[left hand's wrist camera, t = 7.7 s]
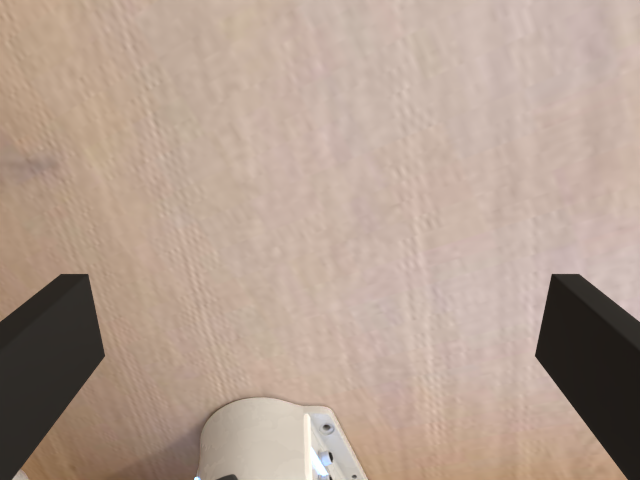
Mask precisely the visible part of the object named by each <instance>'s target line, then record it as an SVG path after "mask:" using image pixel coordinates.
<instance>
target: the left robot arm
mask: <svg viewBox="0 0 640 480" xmlns="http://www.w3.org/2000/svg"><path fill="white" fill-rule="evenodd" d="M104 357H105V354H104V349H103V344H102V339H101V334H100V329H99V324H98V320H97V315H96V310H95V305H94V300H93V295H92V291H91V286H90V281H89V276H88V274H61V275H59V276H58V277H57V278H56V279H54V280H53V281H52V282H50V283H49V284H48V285H47V286H45V287H44V288H43V289H42V290H40V291H39V292H38V293H37V294H35V295H34V296H33V297H31V298H30V299H29V300H28V301H26V302H25V303H24V304H23V305H21V306H20V307H19V308H18V309H16V310H15V311H14V312H12V313H11V314H10V315H9V316H7V317H6V318H5V319H4V320H2V321H1V322H0V480H12V479H13V478H14V476H15V475H16V474H17V472H18V471H19V470H20V468H21V467H22V466H23V464H24V463H25V462H26V461H27V459H28V458H29V457H30V455H31V454H32V453H33V451H34V450H35V449H36V447H37V446H38V445H39V443H40V442H41V441H42V439H43V438H44V437H45V435H46V434H47V433H48V431H49V430H50V429H51V427H52V426H53V425H54V423H55V422H56V421H57V419H58V418H59V417H60V415H61V414H62V413H63V411H64V410H65V409H66V407H67V406H68V405H69V403H70V402H71V401H72V399H73V398H74V397H75V395H76V394H77V393H78V391H79V390H80V389H81V387H82V386H83V385H84V383H85V382H86V381H87V379H88V378H89V377H90V375H91V374H92V373H93V371H94V370H95V369H96V367H97V366H98V365H99V363H100V362H101V361H102V359H103V358H104ZM535 357H536V358H537V359H538V361H539V362H540V363H541V365H542V366H543V367H544V369H545V370H546V371H547V373H548V374H549V375H550V377H551V378H552V379H553V381H554V382H555V383H556V385H557V386H558V387H559V389H560V390H561V391H562V393H563V394H564V395H565V397H566V398H567V399H568V401H569V402H570V403H571V405H572V406H573V407H574V409H575V410H576V411H577V413H578V414H579V415H580V417H581V418H582V419H583V421H584V422H585V423H586V425H587V426H588V427H589V429H590V430H591V431H592V433H593V434H594V435H595V437H596V438H597V439H598V441H599V442H600V443H601V445H602V446H603V447H604V449H605V450H606V451H607V453H608V454H609V455H610V457H611V458H612V459H613V461H614V462H615V463H616V464H617V466H618V467H619V468H620V470H621V471H622V472H623V474H624V475H625V476H626V478H627V479H628V480H640V322H639V321H638V320H636V319H635V318H634V317H633V316H631V315H630V314H629V313H628V312H626V311H625V310H624V309H622V308H621V307H620V306H619V305H617V304H616V303H615V302H614V301H612V300H611V299H610V298H609V297H607V296H606V295H605V294H603V293H602V292H601V291H600V290H598V289H597V288H596V287H595V286H593V285H592V284H591V283H590V282H588V281H587V280H586V279H584V278H583V277H582V276H581V275H579V274H552V276H551V281H550V286H549V291H548V295H547V300H546V305H545V310H544V315H543V320H542V324H541V329H540V334H539V339H538V344H537V349H536V354H535Z"/></svg>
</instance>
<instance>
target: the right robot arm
mask: <svg viewBox="0 0 640 480" xmlns="http://www.w3.org/2000/svg"><path fill="white" fill-rule="evenodd" d="M325 425H328V426H325ZM12 480H29V478H28V476H27V475H26V473H25V472H24V471H23V470H22V469H20V470H19V471H18V472H17V474H16V475H15V476H14V478H13V479H12ZM195 480H368V478H367V476H366V475H365V473H364V471H363V469H362V467H361V465H360V463H359V461H358V459H357V457H356V455H355V453H354V451H353V449H352V447H351V446H350V444H349V442H348V440H347V438H346V436H345V434H344V432H343V430H342V428H341V426H340V424H339V422H338V420H337V419H336V417H335V415H334V413H333V411H332V410H331V409H330V408H328V407H325V406H301V405H297V404H293V403H290V402H287V401H284V400H280V399H275V398H267V397H254V398H246V399H242V400H238V401H235V402H232V403H230V404H228V405H226V406H224V407H222V408H220V409H219V410H218V411H216V412H215V413H214V414H213V415H212V416H211V417H210V418H209V419H208V421H207V422H206V424H205V425H204V427H203V430H202V432H201V436H200V460H199V467H198V470H197V474H196V477H195Z"/></svg>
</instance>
